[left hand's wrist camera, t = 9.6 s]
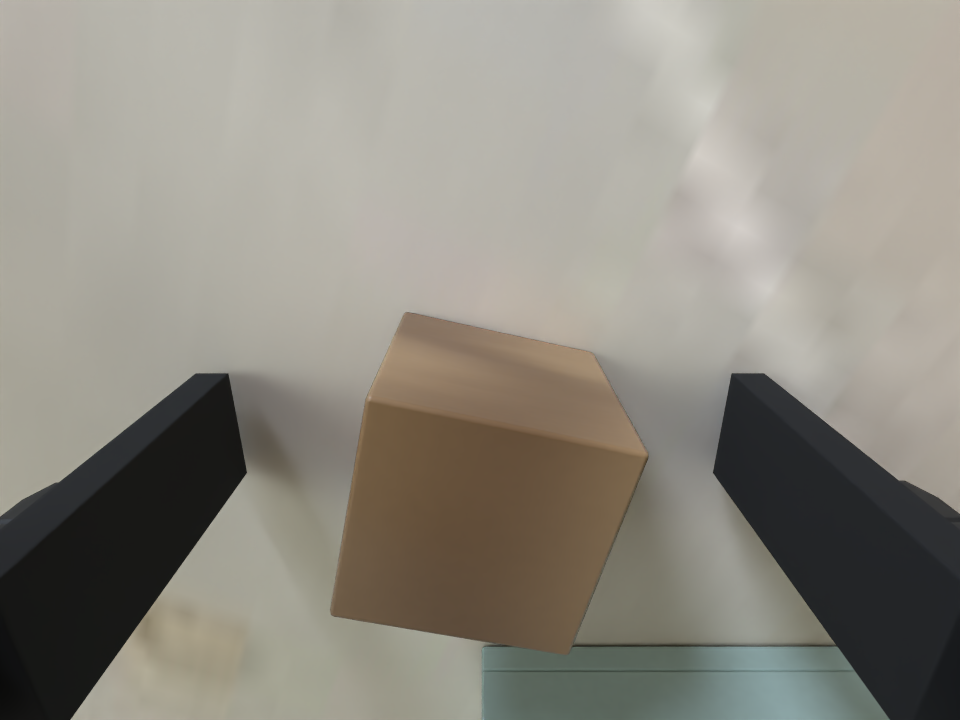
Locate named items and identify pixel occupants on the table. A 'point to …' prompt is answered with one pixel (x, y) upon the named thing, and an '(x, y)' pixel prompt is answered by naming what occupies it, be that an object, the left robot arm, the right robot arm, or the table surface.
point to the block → (484, 487)
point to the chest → (674, 684)
